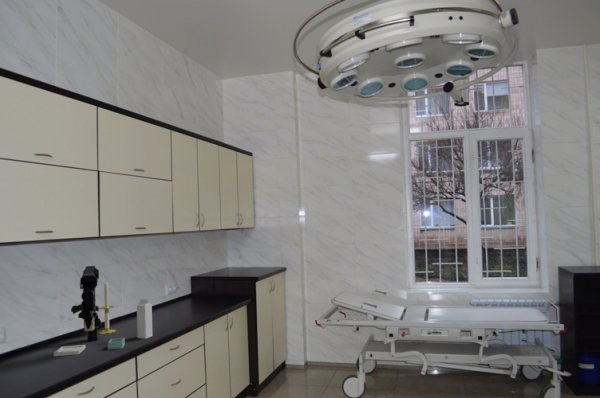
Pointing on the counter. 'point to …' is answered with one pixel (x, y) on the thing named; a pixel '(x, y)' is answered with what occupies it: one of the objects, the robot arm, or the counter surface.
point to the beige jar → (90, 326)
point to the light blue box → (116, 343)
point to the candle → (106, 311)
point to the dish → (69, 350)
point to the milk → (144, 319)
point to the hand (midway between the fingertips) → (89, 327)
